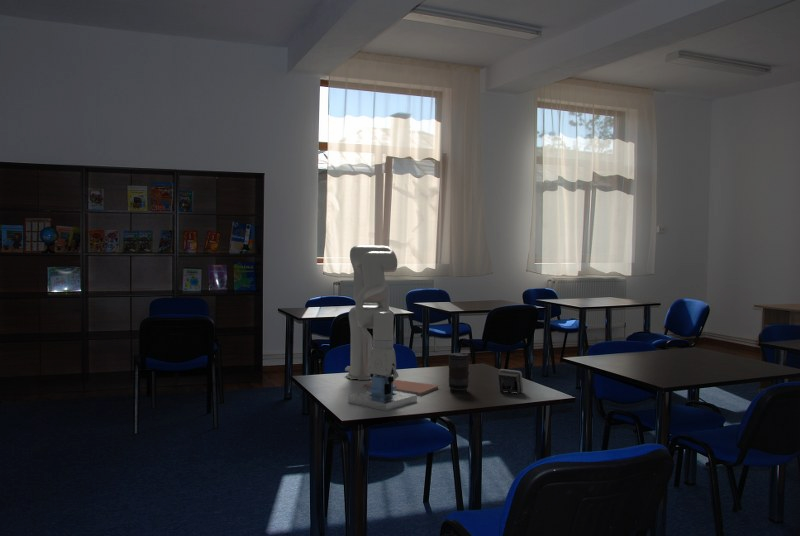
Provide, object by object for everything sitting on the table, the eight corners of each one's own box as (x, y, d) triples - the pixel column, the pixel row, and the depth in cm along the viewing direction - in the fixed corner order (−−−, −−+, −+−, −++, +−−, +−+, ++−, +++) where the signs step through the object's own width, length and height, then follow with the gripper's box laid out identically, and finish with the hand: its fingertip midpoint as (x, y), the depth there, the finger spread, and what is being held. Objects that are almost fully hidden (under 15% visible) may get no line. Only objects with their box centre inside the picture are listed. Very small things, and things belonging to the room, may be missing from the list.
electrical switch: (523, 392, 256) (523, 370, 255) (519, 396, 252) (518, 373, 250) (501, 390, 261) (501, 367, 260) (496, 393, 256) (496, 371, 255)
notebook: (361, 389, 261) (361, 384, 261) (382, 382, 276) (382, 377, 276) (419, 397, 247) (419, 392, 247) (439, 389, 262) (439, 384, 262)
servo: (377, 399, 233) (377, 377, 233) (368, 397, 236) (368, 375, 236) (396, 394, 242) (396, 372, 241) (387, 392, 244) (387, 371, 244)
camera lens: (457, 388, 263) (457, 351, 262) (472, 391, 257) (473, 354, 257) (444, 391, 257) (444, 353, 257) (459, 394, 251) (460, 356, 251)
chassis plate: (348, 402, 236) (348, 395, 236) (379, 394, 250) (380, 388, 250) (385, 410, 225) (385, 403, 225) (416, 401, 239) (416, 394, 239)
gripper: (359, 343, 240) (358, 391, 241) (394, 347, 230) (393, 398, 231) (372, 340, 246) (371, 388, 247) (407, 345, 236) (406, 394, 236)
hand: (382, 392), depth 239 cm, fingers closed on servo, 4 cm apart
